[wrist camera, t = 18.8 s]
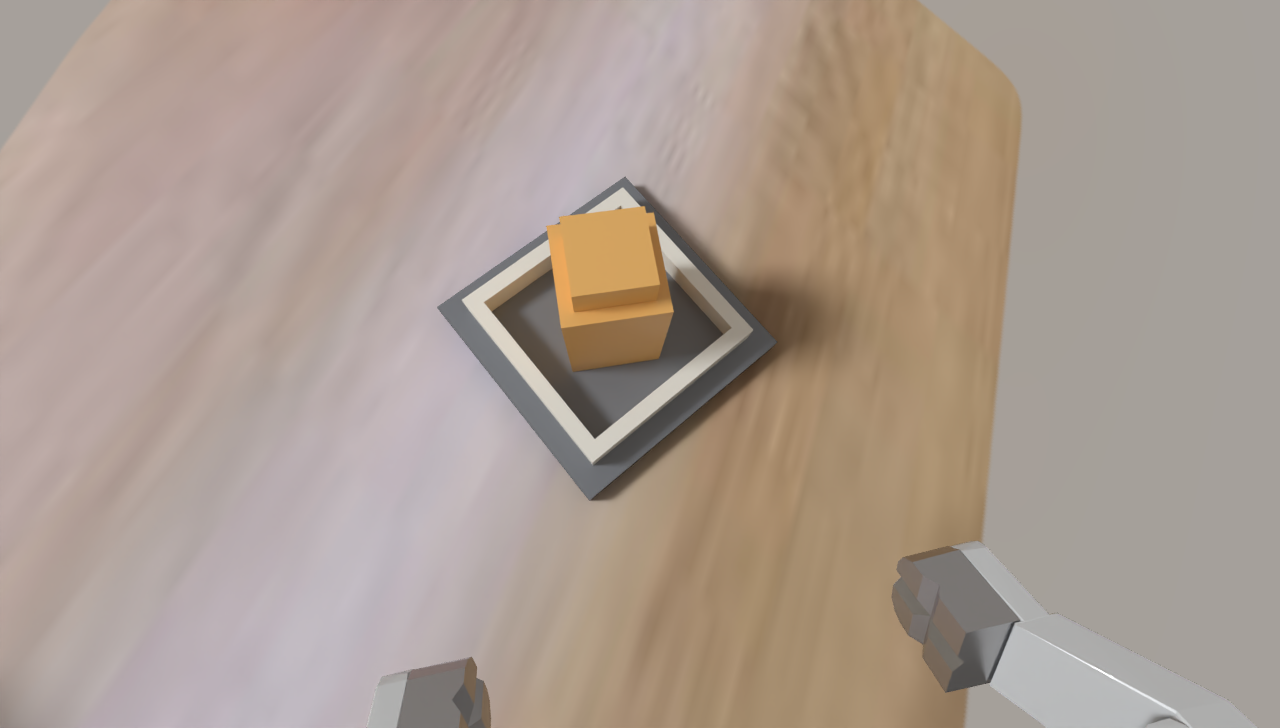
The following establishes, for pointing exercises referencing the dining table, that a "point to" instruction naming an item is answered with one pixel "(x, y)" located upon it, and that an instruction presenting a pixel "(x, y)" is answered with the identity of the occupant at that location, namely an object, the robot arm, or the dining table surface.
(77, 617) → the dining table surface
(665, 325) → the stepped orange block
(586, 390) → the base
